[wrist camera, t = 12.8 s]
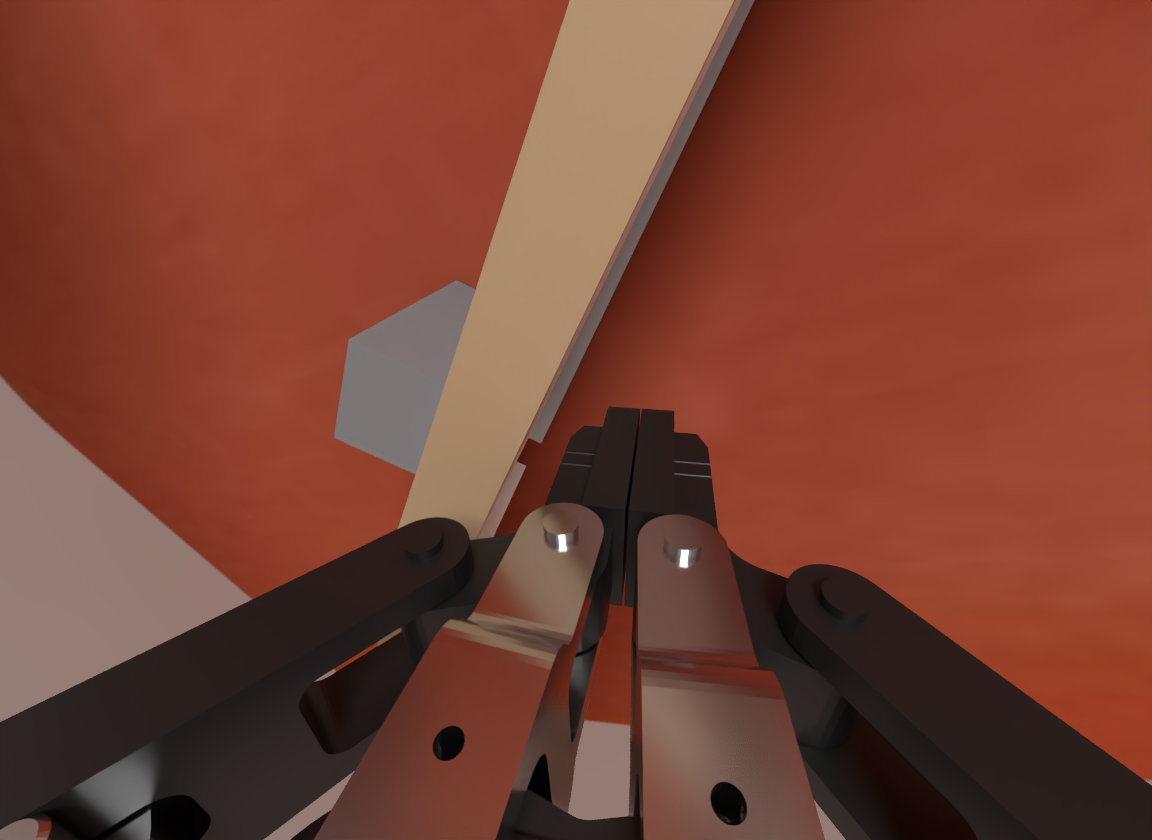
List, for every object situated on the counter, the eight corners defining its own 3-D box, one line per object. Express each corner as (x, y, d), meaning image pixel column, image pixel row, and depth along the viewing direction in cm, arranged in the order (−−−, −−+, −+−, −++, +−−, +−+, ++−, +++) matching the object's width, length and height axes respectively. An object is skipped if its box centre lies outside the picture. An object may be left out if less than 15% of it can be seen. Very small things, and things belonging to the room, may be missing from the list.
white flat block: (778, -268, 8) (1263, -2127, 2) (849, -223, 8) (1589, -1787, 2) (496, 410, 16) (383, 573, 10) (533, 428, 16) (445, 602, 10)
